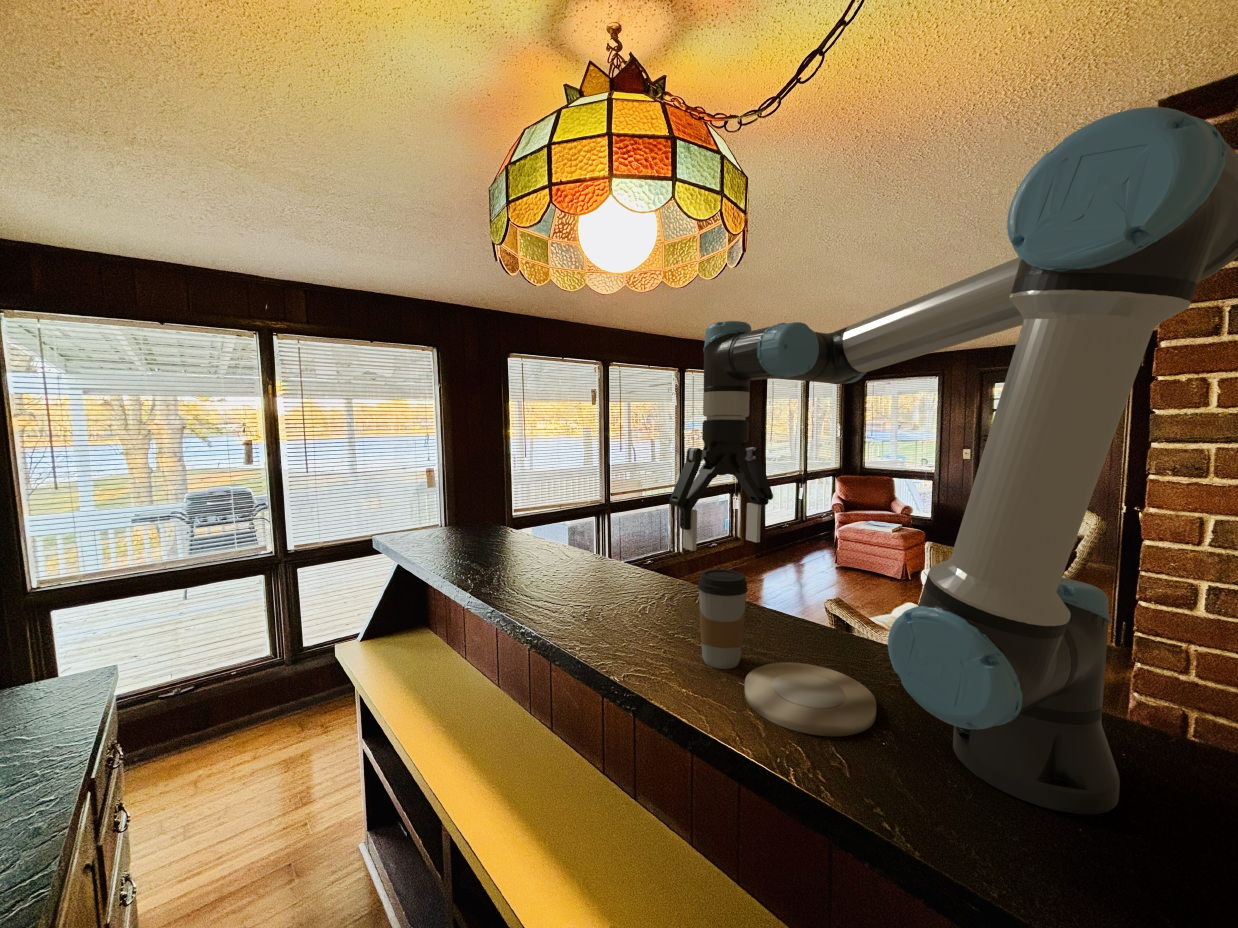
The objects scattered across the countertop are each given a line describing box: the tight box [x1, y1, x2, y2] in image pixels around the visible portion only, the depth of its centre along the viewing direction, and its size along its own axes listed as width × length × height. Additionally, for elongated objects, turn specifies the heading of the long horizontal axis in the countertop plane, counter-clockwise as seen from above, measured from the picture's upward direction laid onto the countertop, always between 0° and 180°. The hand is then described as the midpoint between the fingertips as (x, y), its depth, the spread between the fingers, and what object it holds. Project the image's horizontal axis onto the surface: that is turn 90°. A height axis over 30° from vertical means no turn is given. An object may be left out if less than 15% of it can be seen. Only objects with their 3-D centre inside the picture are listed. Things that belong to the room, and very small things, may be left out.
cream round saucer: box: [744, 662, 877, 737], centre depth 76 cm, size 18×18×2 cm
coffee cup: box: [697, 568, 749, 670], centre depth 88 cm, size 8×8×15 cm
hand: (722, 544), depth 87 cm, fingers open, 13 cm apart
